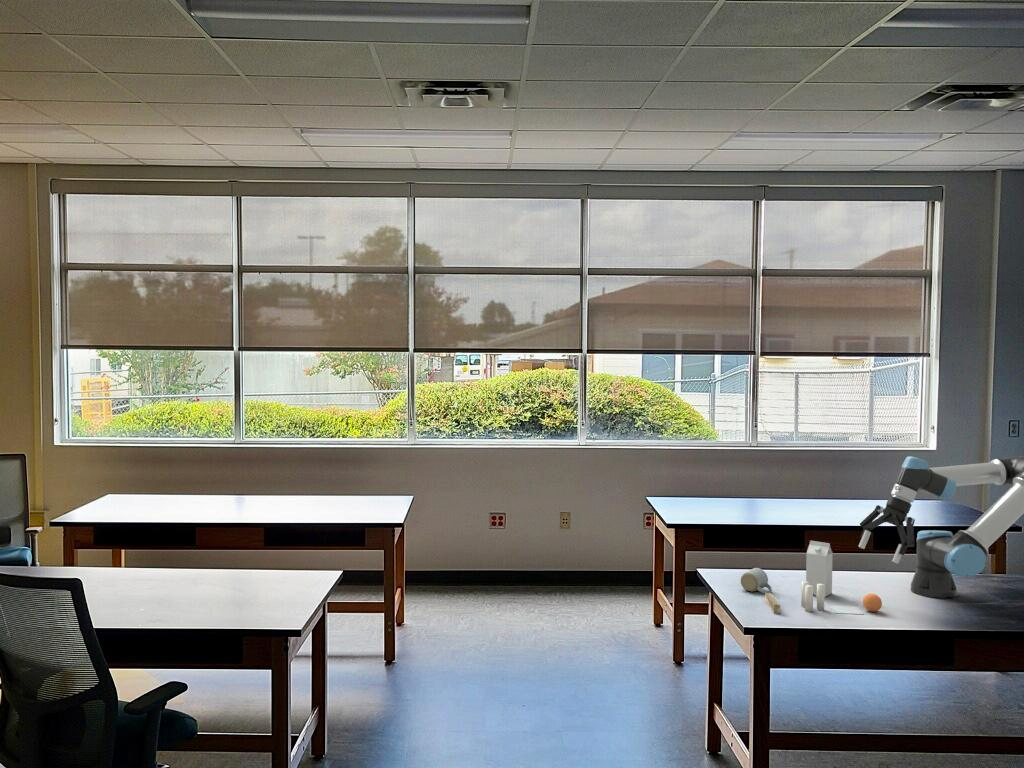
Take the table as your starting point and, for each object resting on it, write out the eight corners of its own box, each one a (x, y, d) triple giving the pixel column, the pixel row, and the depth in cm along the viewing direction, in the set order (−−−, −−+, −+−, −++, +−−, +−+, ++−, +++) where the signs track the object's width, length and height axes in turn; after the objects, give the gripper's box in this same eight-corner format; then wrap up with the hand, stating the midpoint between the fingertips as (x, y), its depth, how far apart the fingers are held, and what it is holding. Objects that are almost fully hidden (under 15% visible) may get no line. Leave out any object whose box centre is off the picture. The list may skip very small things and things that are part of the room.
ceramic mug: (738, 590, 294) (739, 569, 293) (749, 585, 299) (750, 565, 299) (765, 596, 286) (766, 575, 286) (775, 592, 292) (776, 571, 292)
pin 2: (811, 610, 270) (811, 585, 270) (813, 612, 267) (813, 587, 267) (804, 609, 270) (804, 585, 270) (806, 611, 268) (806, 586, 267)
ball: (878, 609, 272) (878, 591, 272) (884, 614, 266) (884, 596, 266) (859, 608, 272) (860, 591, 272) (865, 613, 266) (866, 595, 266)
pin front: (823, 608, 272) (823, 583, 272) (825, 610, 269) (825, 585, 269) (815, 608, 272) (816, 583, 272) (817, 610, 270) (818, 585, 269)
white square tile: (855, 607, 273) (856, 606, 273) (863, 614, 265) (863, 613, 265) (829, 606, 274) (829, 605, 274) (836, 613, 266) (836, 612, 266)
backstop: (770, 601, 279) (770, 593, 279) (780, 613, 265) (780, 604, 265) (765, 601, 279) (765, 592, 279) (774, 613, 265) (774, 604, 265)
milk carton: (812, 589, 295) (813, 539, 295) (831, 593, 291) (832, 541, 290) (805, 593, 290) (806, 542, 289) (825, 597, 285) (826, 545, 285)
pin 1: (807, 605, 275) (807, 581, 275) (809, 607, 272) (809, 583, 272) (800, 605, 275) (800, 581, 275) (802, 607, 273) (802, 582, 272)
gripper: (864, 485, 286) (841, 539, 286) (928, 508, 265) (903, 566, 264) (876, 491, 290) (853, 544, 290) (940, 513, 268) (915, 571, 268)
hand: (877, 555), depth 277 cm, fingers open, 13 cm apart
